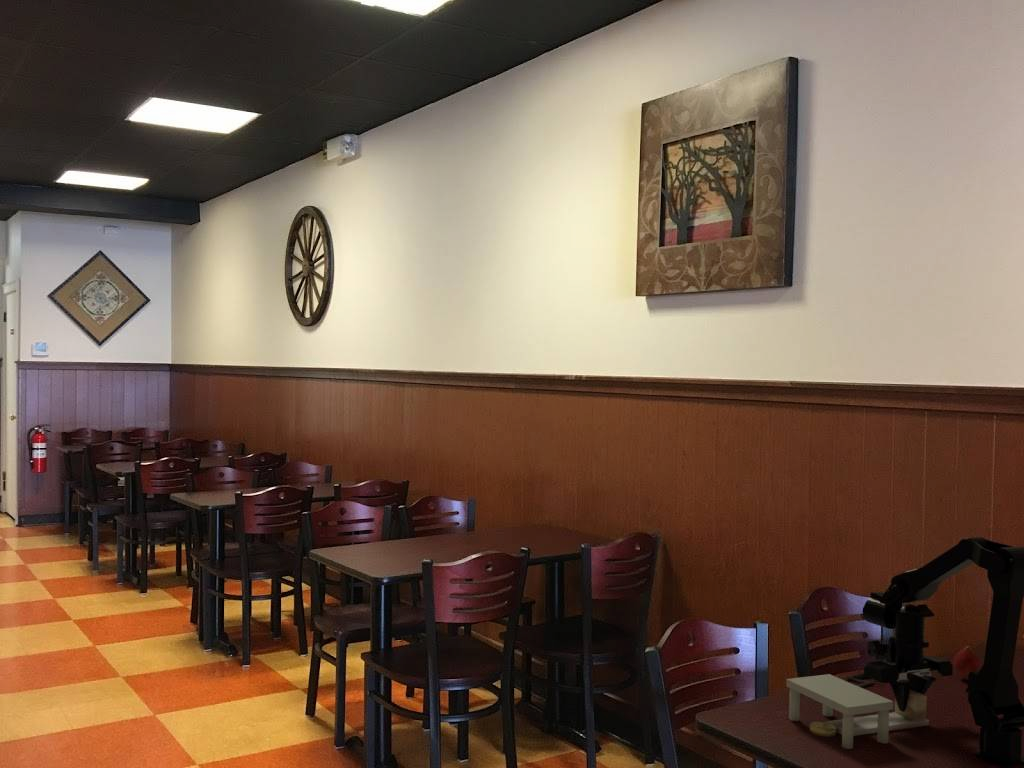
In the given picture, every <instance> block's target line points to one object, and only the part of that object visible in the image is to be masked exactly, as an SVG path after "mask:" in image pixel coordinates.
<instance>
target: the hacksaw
mask: <svg viewBox="0 0 1024 768" xmlns="http://www.w3.org/2000/svg"><path fill="white" fill-rule="evenodd" d="M865 679H867V680H865ZM868 679H870V678H869V677H866V676H864V671H863V672H861V673H858V674H853V675H851V676H848V677H847V678H842V680H844V681H847V682H854V683H855V682H856V683H858V684H855V685H856V686H858V687H861V688H863V689H864V688H865V687H869V686H873V684H874V683H880V684H878V685H879V686H881V685H883V684H884V683H881V682H879V681H876V680H868ZM848 680H849V681H848Z"/></svg>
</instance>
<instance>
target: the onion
mask: <svg viewBox="0 0 1024 768" xmlns="http://www.w3.org/2000/svg"><path fill="white" fill-rule="evenodd" d="M952 666H953V669H954V670H955V671H956V672H957V673H958V675H960V676H961V677H962V678H963V679H964V680H967V681H968V675H969V672H970V671H976V670H980V669H981V667H982V666H981V660H980V657H978V655H977V654H976V653H975V652H974V651H973V650H972V649H971V646H969V645H967V646H965V647H964V648H963V649H961V650H959V651H958V652H957V653H956V654H955V655H954V658H953V662H952Z"/></svg>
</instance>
